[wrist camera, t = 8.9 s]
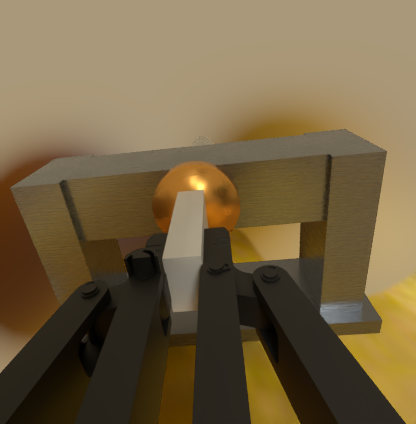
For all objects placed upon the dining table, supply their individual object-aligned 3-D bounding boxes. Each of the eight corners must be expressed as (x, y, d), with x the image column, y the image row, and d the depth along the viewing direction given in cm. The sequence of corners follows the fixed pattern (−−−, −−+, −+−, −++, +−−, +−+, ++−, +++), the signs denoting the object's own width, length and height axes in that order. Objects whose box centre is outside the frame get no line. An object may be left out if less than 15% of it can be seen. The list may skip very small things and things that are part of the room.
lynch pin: (230, 169, 32) (226, 117, 29) (242, 242, 19) (237, 162, 17) (180, 174, 32) (172, 123, 30) (160, 249, 19) (144, 172, 17)
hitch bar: (338, 265, 29) (353, 125, 23) (379, 332, 22) (416, 154, 16) (93, 284, 31) (49, 156, 25) (57, 353, 23) (-17, 196, 17)
